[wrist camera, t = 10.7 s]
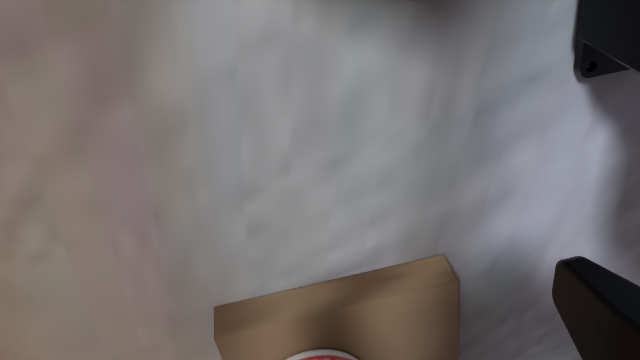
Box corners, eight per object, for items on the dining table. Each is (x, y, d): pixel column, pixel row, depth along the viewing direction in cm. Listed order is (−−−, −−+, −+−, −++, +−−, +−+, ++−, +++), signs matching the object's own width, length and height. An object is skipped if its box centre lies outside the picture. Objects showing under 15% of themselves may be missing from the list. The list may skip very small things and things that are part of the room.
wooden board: (443, 254, 27) (458, 281, 25) (445, 371, 33) (458, 399, 31) (214, 307, 26) (213, 338, 25) (256, 417, 32) (259, 448, 31)
